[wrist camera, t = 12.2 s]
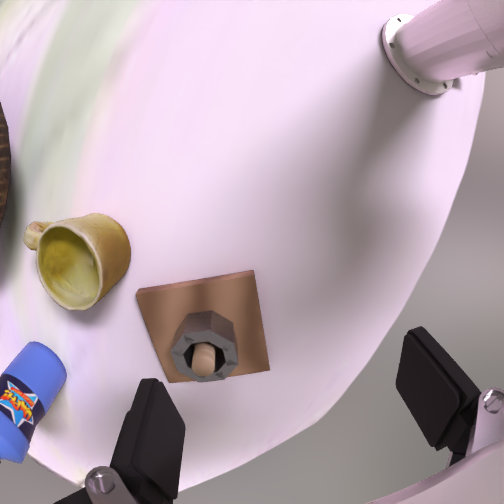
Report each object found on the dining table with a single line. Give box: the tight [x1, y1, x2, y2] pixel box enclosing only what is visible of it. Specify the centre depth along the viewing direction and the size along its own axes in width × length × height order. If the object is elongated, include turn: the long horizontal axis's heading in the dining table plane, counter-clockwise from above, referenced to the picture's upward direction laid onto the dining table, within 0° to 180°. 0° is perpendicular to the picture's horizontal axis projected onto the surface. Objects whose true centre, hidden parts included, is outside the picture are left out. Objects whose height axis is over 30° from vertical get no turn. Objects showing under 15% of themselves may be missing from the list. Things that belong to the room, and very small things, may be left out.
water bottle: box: [0, 342, 67, 463], centre depth 23 cm, size 9×9×25 cm
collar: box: [170, 310, 239, 382], centre depth 31 cm, size 7×7×4 cm
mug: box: [23, 213, 131, 311], centre depth 26 cm, size 12×10×10 cm
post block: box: [136, 270, 270, 383], centre depth 31 cm, size 14×14×8 cm
